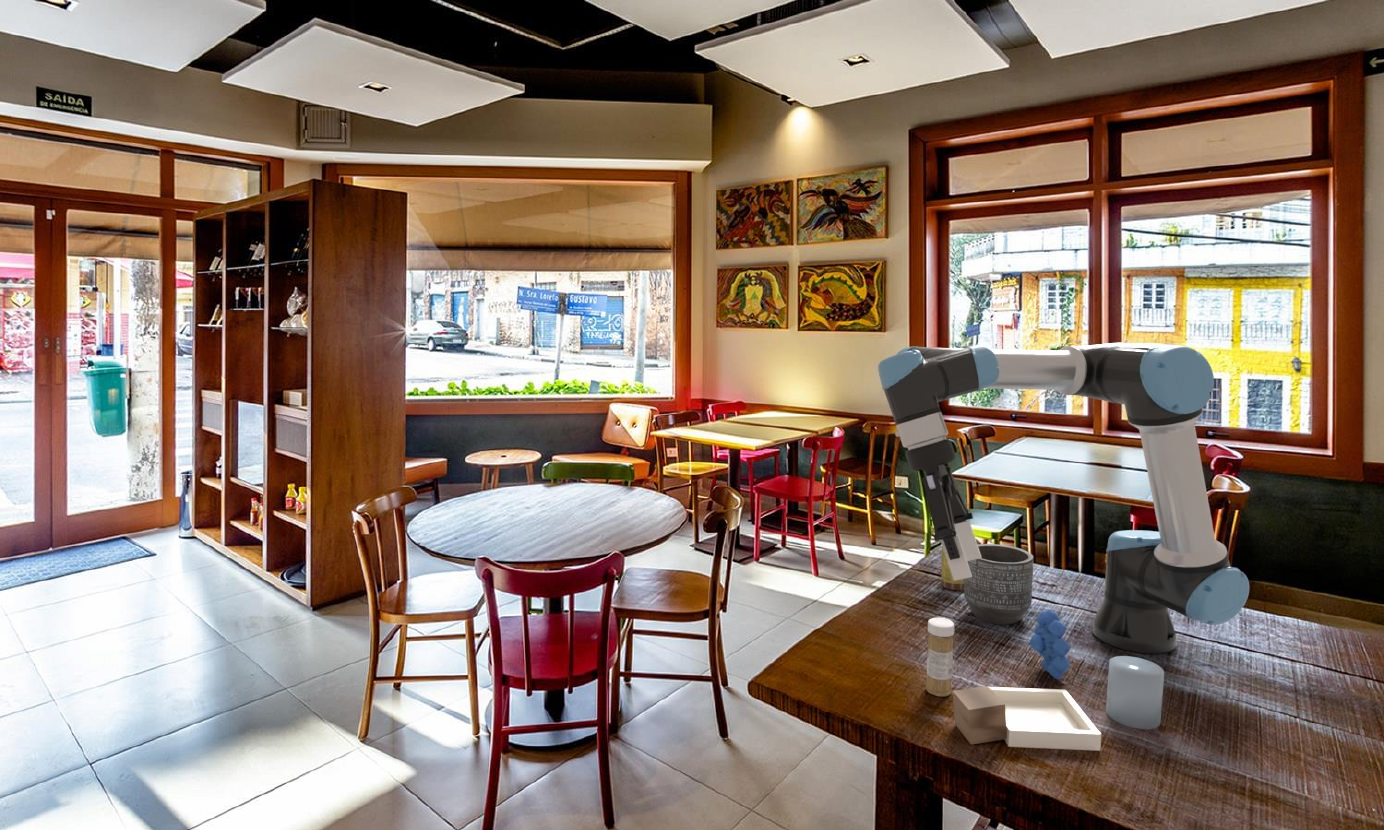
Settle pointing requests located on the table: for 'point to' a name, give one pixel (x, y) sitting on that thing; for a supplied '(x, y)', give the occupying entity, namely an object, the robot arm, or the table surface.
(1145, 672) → the pale grey rounded cylinder
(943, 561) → the sauce bottle
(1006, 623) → the planter
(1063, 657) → the grapes
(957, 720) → the walnut block
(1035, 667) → the table surface
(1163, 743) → the table surface
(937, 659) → the sprinkles bottle
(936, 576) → the table surface
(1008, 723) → the tray
